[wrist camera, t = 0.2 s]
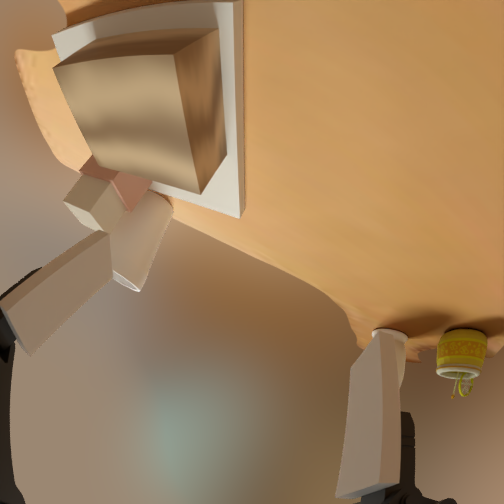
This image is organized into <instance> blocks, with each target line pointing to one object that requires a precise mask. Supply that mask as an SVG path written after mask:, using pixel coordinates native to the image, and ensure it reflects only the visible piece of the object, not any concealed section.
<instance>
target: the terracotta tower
mask: <svg viewBox="0 0 504 504" xmlns="http://www.w3.org/2000/svg"><path fill="white" fill-rule="evenodd" d="M79 171H80V173H81V175H82V176H81V177H80V179H79V180H78V181H77V183H76V184H75V185H74V187H73V188H72V189H71V191H70V192H69V193H68V194H67V196H66V197H65V199H64V200H63V202H64V203H65V204H66V205H67V207H68V208H69V209H70V210H71V212H72V213H73V214H74V215H75V216H76V218H77V219H78V220H79V221H80V222H81V223H82V224H83V225H85V226H87V227H89V228H91V229H93V230H95V231H97V230H102V231H104V232H107V233H109V235H110V234H111V232H112V231H113V229H114V228H115V226H116V224H117V223H118V221H119V220H120V218H121V217H122V215H123V214H124V212H125V211H128V212H130V213H131V212H132V211H133V209H134V208H135V206H136V205H137V203H138V202H139V200H140V199H141V198H142V196H143V195H144V193H145V192H146V191H147V189H148V188H149V186H150V185H151V184H152V180H148V179H145V178H141V177H138V176H134V175H131V174H127V173H123V172H120V171H116V170H112V169H108V168H105V167H101V166H99V165H98V163H97V161H96V159H95V157H94V156H93V155H92V156H91V157H90V158H89V159H88V160H87V162H86V163H85V164H84V165H83V166H82V168H81V169H80V170H79Z"/></svg>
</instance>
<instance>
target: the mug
mask: <svg viewBox="0 0 504 504" xmlns="http://www.w3.org/2000/svg"><path fill="white" fill-rule="evenodd" d="M486 350H487V338H486V336H485V335H484V334H483V333H482V332H480V331H477V330H473V329H456V330H452V331H449V332H447V333H445V334H444V335H443V336H442V337H441V339H440V341H439V344H438V349H437V365H438V367H437V369H436V371H437V373H438V375H440V376H443V377H446V378H452V379H456V383H457V379H460V381H459V393H460V394H461V396H467V395H469V393H470V392H471V390H472V387H473V378H474V377H477V376H478V375H479V374H480V373H481V367H482V365H483V361H484V358H485V354H486ZM470 378H471V384H468V383H467V385H470V386H471V387H470V389H469V391H467V390H468V389H467V390H466V391H467V392H466V394H465V395H464V394H463V392H464V391H463V390H462V391H463V392H462V391H461V384H465V386H466V383H463V382H462V379H467V380H468V379H470ZM466 382H467V381H466ZM456 383H455V387H454V391H453V395H452V396H451V398H452V399H453V398H454V392H455V388H456ZM465 388H466V387H465ZM465 388H464V390H465Z"/></svg>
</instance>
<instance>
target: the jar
mask: <svg viewBox="0 0 504 504" xmlns="http://www.w3.org/2000/svg"><path fill="white" fill-rule="evenodd" d="M378 331H382V332H385V333H388V334H392V335H393V338H394V345H395V353H396V361H397V371H398V381H399V388H400V386H401V383H402V380H403V375H404V370H405V360H406V349H405V345H404V344H405V342H406V341H407V340H408V337H407V335H406V334H404V333H402V332H400V331H396V330H392V329H376V330H374V331H373V332H372V336H373V338H374V336H375V335H376V334H377V332H378ZM371 341H372V340H371ZM371 341H370V342H371ZM368 345H369V344H368Z"/></svg>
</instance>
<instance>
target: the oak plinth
mask: <svg viewBox="0 0 504 504" xmlns="http://www.w3.org/2000/svg"><path fill="white" fill-rule="evenodd" d="M53 71H54V73H55V75H56V78H57V80H58V83H59V85H60V87H61V90H62V92H63V94H64V97H65V99H66V101H67V103H68V105H69V108H70V110H71V112H72V114H73V116H74V118H75V120H76V122H77V124H78V126H79V128H80V130H81V132H82V134H83V136H84V138H85V140H86V142H87V144H88V146H89V148H90V150H91V152H92V154H93V156H94V157H95V159H96V161H97V163H98V165H99V166H101V167H105V168H108V169H112V170H116V171H120V172H123V173H127V174H131V175H134V176H138V177H141V178H145V179H148V180H152V181H155V182H159V183H162V184H165V185H169V186H172V187H176V188H179V189H182V190H185V191H189V192H192V193H195V194H198V195H201V194H202V192H203V191H204V189H205V188H206V186H207V185H208V183H209V181H210V180H211V178H212V177H213V175H214V174H215V172H216V171H217V169H218V168H219V166H220V165H221V163H222V162H223V160H224V159H225V157H226V156H227V146H226V132H225V118H224V104H223V89H222V73H221V56H220V38H219V28H179V29H162V30H150V31H141V32H133V33H127V34H120V35H114V36H109V37H104V38H99V39H96V40H94V41H92V42H90V43H89V44H87V45H86V46H84V47H82V48H81V49H79V50H78V51H76V52H75V53H73V54H72V55H70V56H69V57H67V58H66V59H64V60H63V61H62V62H60V63H59V64H57V65H56V66H55V67H53Z"/></svg>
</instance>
